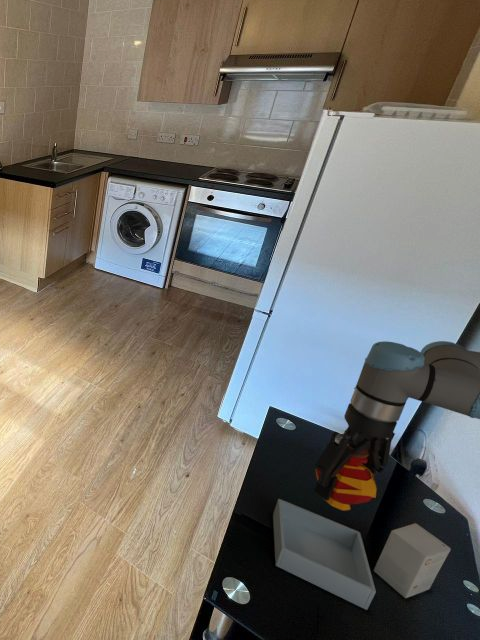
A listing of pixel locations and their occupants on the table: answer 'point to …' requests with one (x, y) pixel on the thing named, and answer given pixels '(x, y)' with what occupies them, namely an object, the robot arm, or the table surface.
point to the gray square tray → (322, 553)
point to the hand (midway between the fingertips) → (340, 492)
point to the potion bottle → (352, 483)
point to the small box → (411, 560)
